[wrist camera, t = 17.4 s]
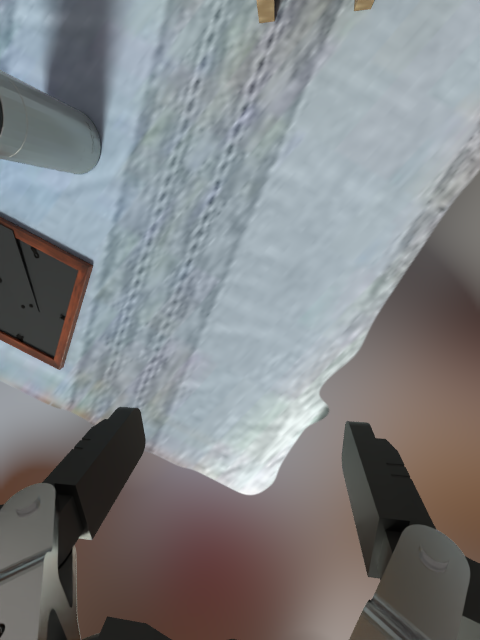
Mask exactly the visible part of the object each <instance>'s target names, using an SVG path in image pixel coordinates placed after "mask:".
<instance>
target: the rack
mask: <svg viewBox="0 0 480 640" xmlns="http://www.w3.org/2000/svg"><path fill="white" fill-rule="evenodd" d="M373 2H374V0H355V5H354V11H359V10H366V9H371V7H372V5H373ZM257 8H258V16H259V23H265V22H273V21H275V0H257Z"/></svg>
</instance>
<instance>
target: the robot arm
mask: <svg viewBox="0 0 480 640" xmlns="http://www.w3.org/2000/svg"><path fill="white" fill-rule="evenodd" d="M100 150H101V145H100V138H99V134H98V132H97V130H96V127H95V126H94V124H93V123H92V121H91V120H90V119H89V118H88V117H87V116H86V115H85V114H83V113H82V112H80V111H78V110H76V109H74V108H73V107H71V106H69V105H67V104H65V103H63V102H61V101H59V100H57V99H55V98H53V97H52V96H50V95H48V94H46V93H44V92H42V91H40V90H38V89H36V88H34V87H32V86H30V85H28V84H26V83H24V82H23V81H21V80H19V79H17V78H15V77H13V76H11V75H9V74H7V73H5V72H3V71H1V70H0V159H3V160H8V161H13V162H18V163H23V164H28V165H33V166H38V167H43V168H48V169H53V170H57V171H62V172H67V173H73V174H84V173H88V172H89V171H91V170H92V169H93V168H94V167H95V166H96V164H97V162H98V160H99V156H100ZM144 448H145V434H144V428H143V422H142V417H141V412H140V410H139V409H138V408H128V407H119V408H117V409H116V410H115V412H114V413H113V414H112V415H111V416H110V417H109V419H104V420H103V421H101V422H100V423H98V424H97V425H95V426H94V427H92V428H91V429H90V430H89V431H88V432H87V433H86V435H85V436H84V437H83V438H82V440H81V441H79V442H78V443H77V445H76V446H75V447H74V449H72V450H71V451H70V453H69V454H68V455H67V456H66V457H65V458H64V459H63V460H62V461H61V462H60V463H59V465H58V466H57V467H56V468H55V469H54V470H53V471H52V472H51V473H50V475H49V476H48V477H47V478H46V479H45V480H44V481H43V482H42V483H39V484H34V485H31V486H29V487H26V488H24V489H23V490H21V491H19V492H18V493H16V494H15V495H14V496H12V497H11V498H10V499H9V500H8V501H7V502H6V503H5V504H4V505H0V640H81V638H80V632H79V627H78V619H77V580H76V549H75V546H74V545H75V543H76V542H77V540H78V538H81V539H88V540H92V539H93V538H94V536H95V534H96V533H97V531H98V529H99V527H100V526H101V524H102V522H103V520H104V519H105V517H106V516H107V514H108V512H109V510H110V509H111V507H112V505H113V504H114V502H115V500H116V499H117V497H118V495H119V493H120V492H121V490H122V488H123V487H124V485H125V483H126V482H127V480H128V478H129V476H130V475H131V473H132V471H133V470H134V468H135V466H136V465H137V463H138V461H139V459H140V458H141V456H142V454H143V451H144ZM342 468H343V474H344V478H345V482H346V486H347V491H348V495H349V499H350V503H351V508H352V512H353V516H354V520H355V524H356V528H357V533H358V537H359V541H360V545H361V550H362V554H363V558H364V562H365V567H366V571H367V575H368V577H373V578H380V580H381V581H380V583H379V585H378V588H377V590H376V592H375V594H374V596H373V598H372V600H369V601H368V602H367V603H366V605H365V607H364V609H363V611H362V613H361V615H360V617H359V620H358V622H357V624H356V626H355V628H354V630H353V633H352V635H351V637H350V639H349V640H480V563H477V562H475V561H473V560H471V559H469V558H467V557H466V556H464V554H463V553H462V551H461V550H460V549H459V547H458V546H457V545H456V544H455V543H454V542H453V541H452V540H450V539H449V538H448V537H447V536H446V535H444V534H443V533H441V532H440V531H438V530H436V528H435V526H434V524H433V522H432V520H431V518H430V516H429V514H428V512H427V510H426V508H425V506H424V504H423V502H422V500H421V498H420V496H419V494H418V492H417V490H416V488H415V485H414V483H413V481H412V480H411V479H410V476H409V473H408V471H407V469H406V467H404V463H403V461H402V459H401V457H400V455H399V453H398V451H397V450H396V449H395V448H394V447H393V446H392V445H391V444H390V443H389V442H388V441H387V440H386V439H377V438H375V436H374V433H373V431H372V428H371V426H370V424H369V423H364V422H349V421H347V422H346V424H345V432H344V441H343V449H342ZM82 640H171V639H170V638H168V637H167V636H165V635H163V634H162V633H160V632H159V631H157V630H156V629H154V628H152V627H151V626H149V625H148V624H146V623H140V622H135V621H129V620H123V619H117V618H112V617H107V618H106V621H105V623H104V625H103V628H102V630H101V632H100V633H99V634H95V635H92V636H90V637H87V638H85V639H82ZM230 640H235V639H230Z"/></svg>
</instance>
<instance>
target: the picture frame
mask: <svg viewBox="0 0 480 640" xmlns="http://www.w3.org/2000/svg"><path fill="white" fill-rule="evenodd" d="M92 268H93V265H91V264H89V263H87V262H85V261H83V260H81V259H80V258H78V257H76V256H74V255H72V254H70V253H68V252H66V251H64V250H62V249H61V248H59V247H57V246H55V245H53V244H51V243H49V242H47V241H45V240H43V239H42V238H40V237H38V236H36V235H34V234H32V233H30V232H28V231H26V230H24V229H23V228H21V227H19V226H17V225H15V224H13V223H11V222H9V221H7V220H5V219H4V218H2V217H0V340H2V341H4V342H6V343H8V344H10V345H12V346H14V347H16V348H17V349H19V350H21V351H23V352H25V353H27V354H29V355H31V356H33V357H35V358H37V359H39V360H41V361H43V362H45V363H47V364H49V365H51V366H53V367H55V368H57V369H59V370H60V369H61V368H63V367H64V363H65V360H66V356H67V353H68V350H69V346H70V343H71V339H72V336H73V333H74V329H75V326H76V322H77V319H78V316H79V312H80V309H81V305H82V302H83V299H84V295H85V292H86V288H87V285H88V282H89V278H90V275H91V271H92Z"/></svg>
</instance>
